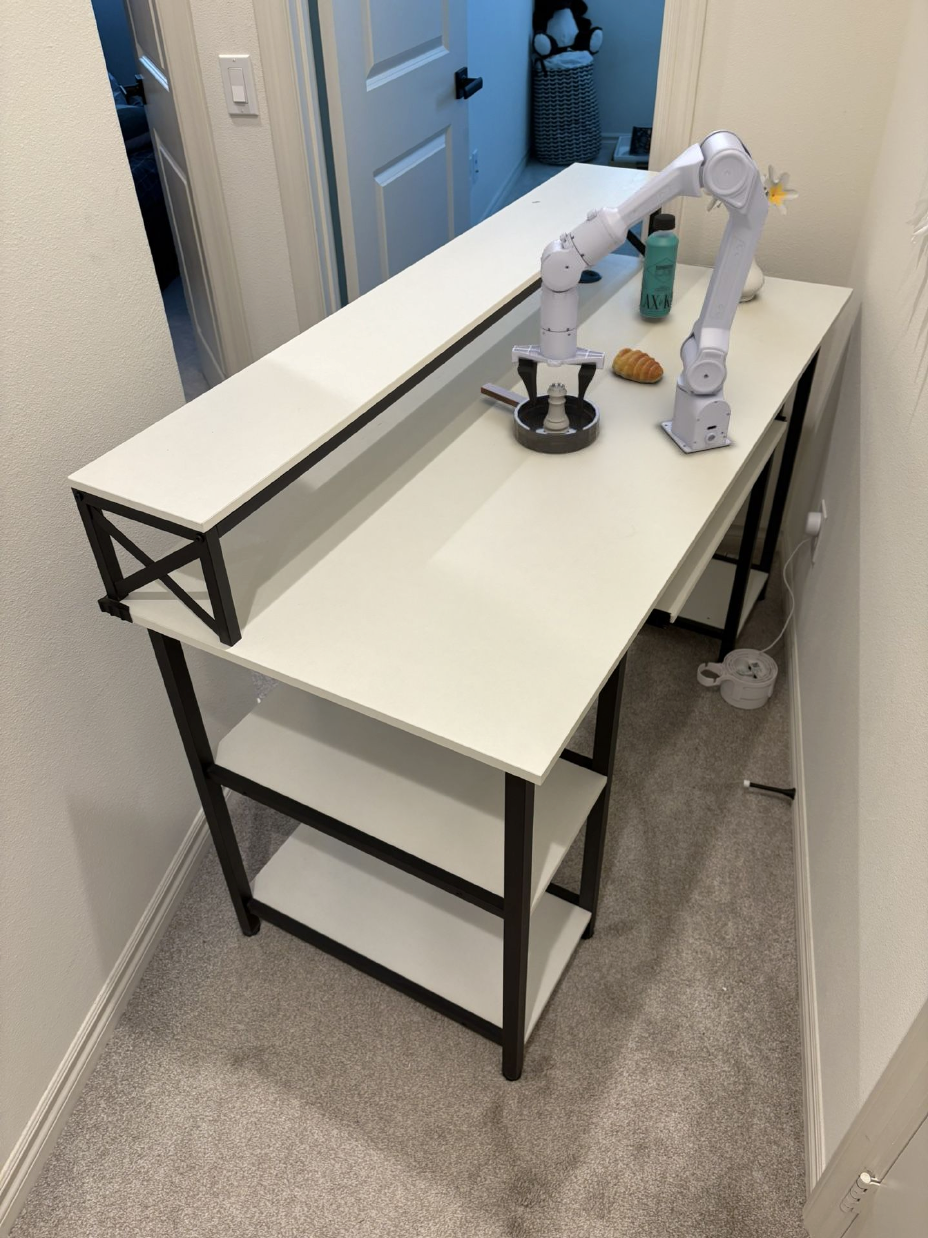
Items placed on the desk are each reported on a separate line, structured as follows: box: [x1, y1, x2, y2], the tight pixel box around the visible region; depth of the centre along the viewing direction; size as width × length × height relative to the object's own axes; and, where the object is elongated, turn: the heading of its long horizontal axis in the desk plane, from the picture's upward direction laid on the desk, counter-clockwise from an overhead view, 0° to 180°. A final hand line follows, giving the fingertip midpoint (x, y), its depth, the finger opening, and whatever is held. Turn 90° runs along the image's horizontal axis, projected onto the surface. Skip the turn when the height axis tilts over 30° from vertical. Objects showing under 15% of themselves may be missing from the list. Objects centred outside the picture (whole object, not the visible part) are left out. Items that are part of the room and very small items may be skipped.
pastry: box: [611, 347, 665, 384], centre depth 161 cm, size 9×7×4 cm
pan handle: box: [480, 382, 530, 409], centre depth 153 cm, size 10×2×1 cm, turn 45°
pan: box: [513, 392, 601, 454], centre depth 148 cm, size 14×14×4 cm
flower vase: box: [702, 164, 800, 303], centre depth 179 cm, size 13×18×25 cm
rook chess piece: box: [543, 382, 570, 433], centre depth 146 cm, size 4×4×8 cm
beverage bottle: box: [638, 213, 680, 318], centre depth 174 cm, size 6×7×20 cm
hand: (556, 404), depth 145 cm, fingers open, 7 cm apart
